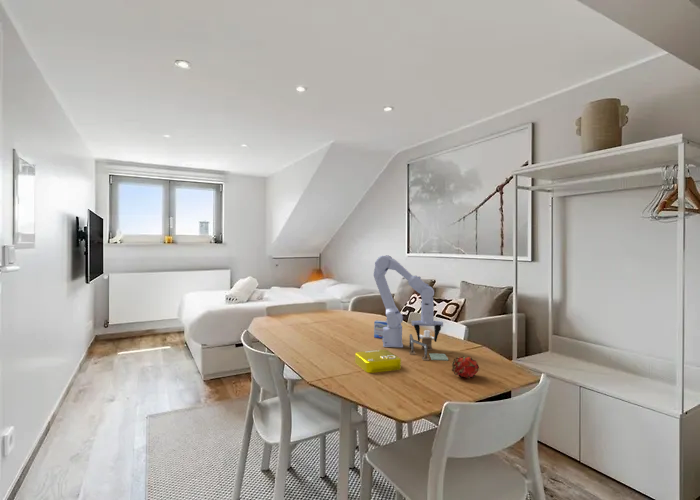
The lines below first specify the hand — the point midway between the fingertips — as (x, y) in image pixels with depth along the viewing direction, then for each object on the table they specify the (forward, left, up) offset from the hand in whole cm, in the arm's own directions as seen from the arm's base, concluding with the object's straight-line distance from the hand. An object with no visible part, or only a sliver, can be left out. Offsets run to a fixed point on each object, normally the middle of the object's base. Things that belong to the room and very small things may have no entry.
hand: (427, 341), depth 176 cm
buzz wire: (-5, -8, -4) cm, 10 cm away
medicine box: (-21, +19, -4) cm, 29 cm away
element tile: (-23, -27, -4) cm, 36 cm away
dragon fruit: (+10, -36, -4) cm, 38 cm away
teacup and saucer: (+1, +24, -4) cm, 24 cm away
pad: (+3, -13, -4) cm, 14 cm away
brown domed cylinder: (0, 0, -4) cm, 4 cm away
